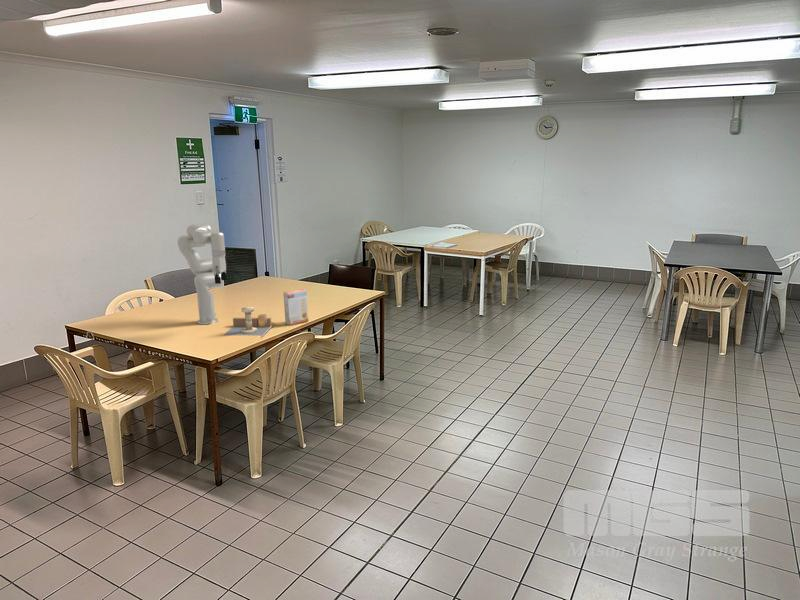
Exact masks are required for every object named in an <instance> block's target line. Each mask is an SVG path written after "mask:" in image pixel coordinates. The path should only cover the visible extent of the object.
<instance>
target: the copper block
mask: <svg viewBox="0 0 800 600" xmlns="http://www.w3.org/2000/svg"><path fill="white" fill-rule="evenodd" d="M257 318H258V323H259V327H266V326H267V318H268V316H267V314H266V313H265V314H258V316H257Z"/></svg>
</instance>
